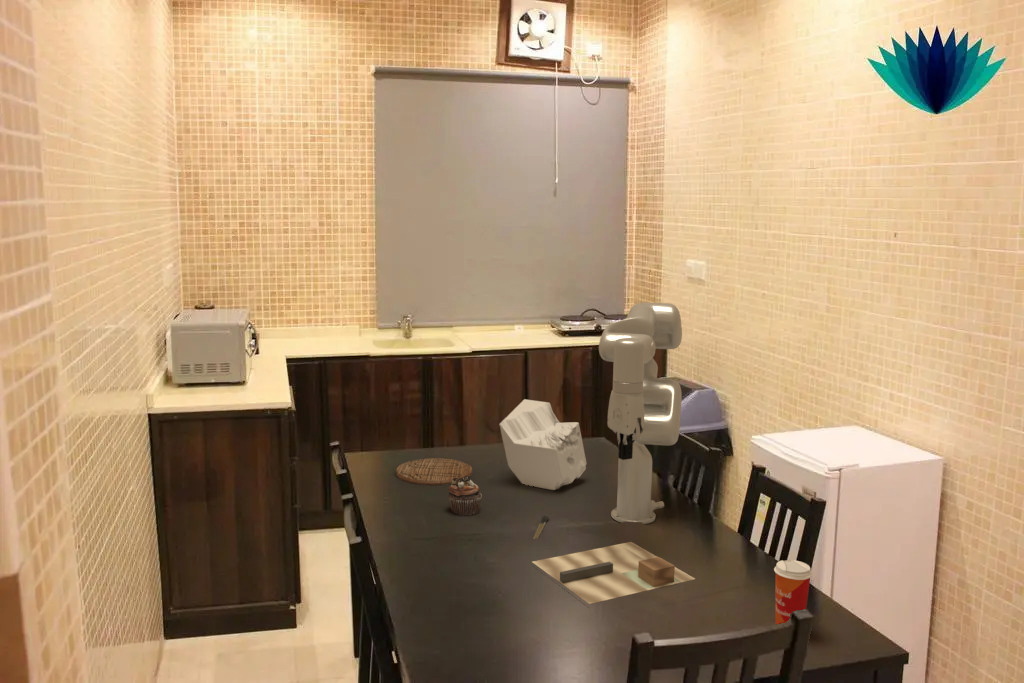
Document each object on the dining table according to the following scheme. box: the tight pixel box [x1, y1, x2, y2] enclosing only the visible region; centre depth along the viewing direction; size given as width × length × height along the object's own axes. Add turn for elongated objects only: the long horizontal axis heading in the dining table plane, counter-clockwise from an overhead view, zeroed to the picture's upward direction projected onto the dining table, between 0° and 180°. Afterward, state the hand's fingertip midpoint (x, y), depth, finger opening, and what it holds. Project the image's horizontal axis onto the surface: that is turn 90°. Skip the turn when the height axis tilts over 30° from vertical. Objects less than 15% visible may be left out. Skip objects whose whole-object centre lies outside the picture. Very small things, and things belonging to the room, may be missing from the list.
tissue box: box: [498, 398, 588, 491], centre depth 279 cm, size 20×16×25 cm
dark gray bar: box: [560, 562, 613, 583], centre depth 209 cm, size 14×2×2 cm, turn 118°
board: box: [532, 541, 696, 609], centre depth 213 cm, size 30×26×1 cm
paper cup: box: [773, 559, 813, 625], centre depth 186 cm, size 8×8×14 cm
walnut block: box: [638, 556, 676, 587], centre depth 208 cm, size 6×6×4 cm
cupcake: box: [448, 476, 483, 516], centre depth 255 cm, size 10×10×10 cm
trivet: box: [396, 457, 473, 486], centre depth 291 cm, size 25×25×2 cm
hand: (625, 458), depth 223 cm, fingers closed
